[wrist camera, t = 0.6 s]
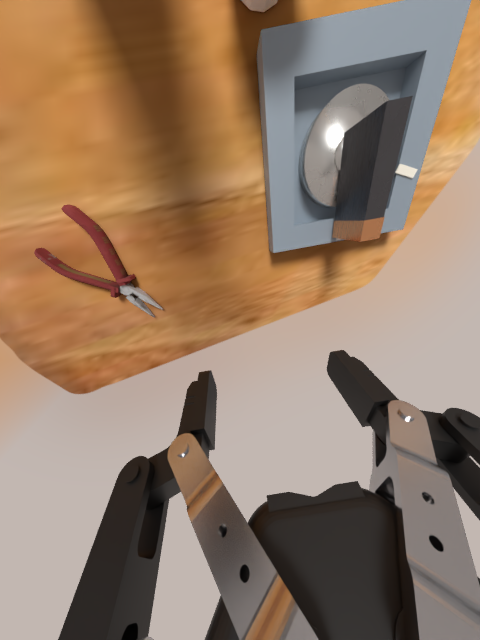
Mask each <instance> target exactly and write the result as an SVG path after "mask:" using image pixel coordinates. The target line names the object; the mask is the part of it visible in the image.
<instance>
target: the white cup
mask: <svg viewBox="0 0 480 640" xmlns="http://www.w3.org/2000/svg"><path fill="white" fill-rule="evenodd" d="M241 1H242V2H243V3H244V4H245V5H246V6H247V7H248V8H249V9H250V10H252V11H259V12H265V11H266V10H268V9H269V8H271V7H272V6H274V5H275V4H276V3H277V2H278V0H241Z"/></svg>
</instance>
